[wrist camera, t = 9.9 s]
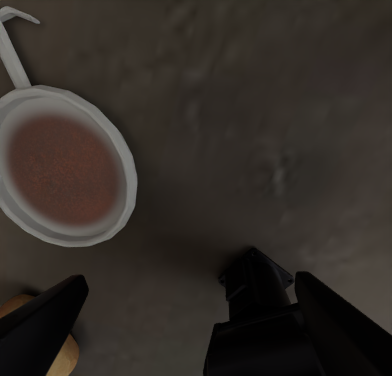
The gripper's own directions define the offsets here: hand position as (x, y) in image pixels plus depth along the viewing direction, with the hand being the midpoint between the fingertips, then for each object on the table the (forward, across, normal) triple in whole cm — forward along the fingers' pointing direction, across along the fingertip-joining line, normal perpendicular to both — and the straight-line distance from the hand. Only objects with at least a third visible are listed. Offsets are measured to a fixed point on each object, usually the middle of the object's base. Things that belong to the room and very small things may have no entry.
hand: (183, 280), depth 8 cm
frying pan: (+14, +16, -8) cm, 22 cm away
